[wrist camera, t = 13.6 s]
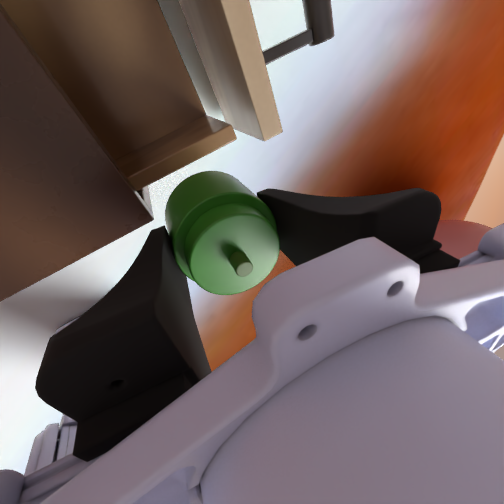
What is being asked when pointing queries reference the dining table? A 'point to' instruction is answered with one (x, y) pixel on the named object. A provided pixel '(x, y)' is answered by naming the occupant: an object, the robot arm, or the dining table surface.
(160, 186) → the dining table surface
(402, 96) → the dining table surface
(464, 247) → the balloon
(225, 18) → the drawer
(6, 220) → the cabinet
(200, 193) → the green lidded jar
